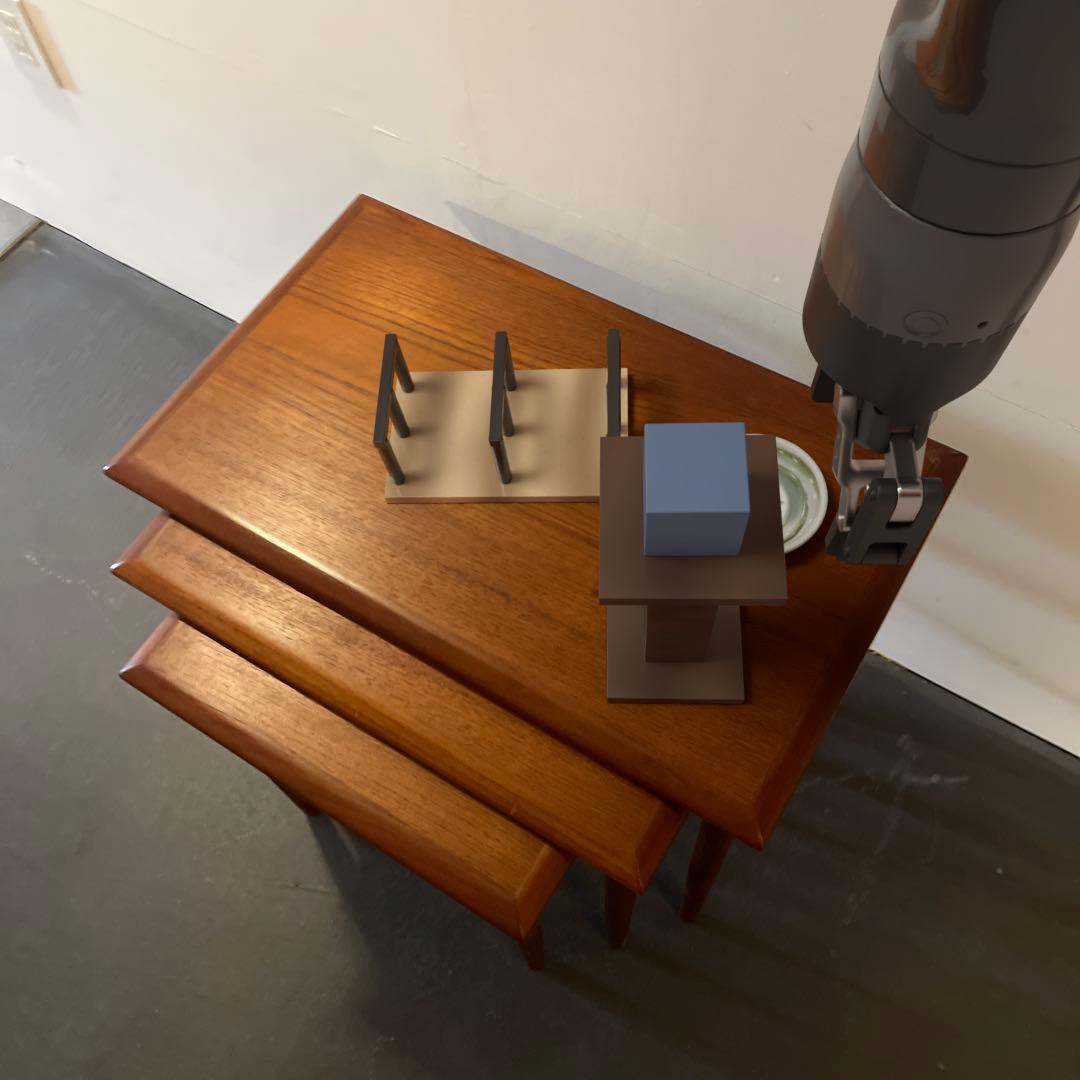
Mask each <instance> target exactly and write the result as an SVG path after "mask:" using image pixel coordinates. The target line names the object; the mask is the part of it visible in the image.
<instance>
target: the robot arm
mask: <svg viewBox="0 0 1080 1080" xmlns="http://www.w3.org/2000/svg"><path fill="white" fill-rule="evenodd" d="M889 19H890V20H889V22H888V26H887V29H886V32H885V35H884V38H883V41H882V44H881V49H880V51H879V52H880V53H879V56H878V59H877V63H876V67H875V70H874V73H873V77H872V81H871V84H870V88H869V91H868V94H867V97H866V98H867V99H866V102H865V105H864V109H863V113H862V117H861V120H860V124H859V126H858V130H857V132H856V135H855V137H854V139H853V142H852V144H851V146H850V147H849V149H848V152H847V153H846V156H845V159H844V161H843V163H842V165H841V168H840V171H839V173H838V176H837V179H836V182H835V186H834V189H833V193H832V196H831V200H830V203H829V208H828V210H827V211H828V212H827V215H826V219H825V223H824V227H823V230H822V233H821V238H820V241H819V245H818V248H817V252H816V257H815V259H814V263H813V267H812V272H811V275H810V278H809V282H808V286H807V290H806V293H805V294H806V295H805V298H804V301H803V305H802V315H801V323H802V331H803V336H804V339H805V342H806V345H807V347H808V350H809V352H810V354H811V356H812V357H813V359H814V360H815V362H816V363H817V365H816V370H815V373H814V375H813V379H812V382H811V385H810V394H811V400H812V402H814V403H819V404H823V403H826V404H827V403H828V404H830V403H832V411H833V413H834V415H835V417H836V425H835V426H836V427H835V436H834V445H833V454H832V463H831V470H832V473H833V474H834V476H835V479H836V482H837V484H838V486H840V487H841V488H840V494H839V495H840V496H839V504H838V510H837V512H836V514H835V516H834V518H833V521H832V523H831V525H830V526H829V529H828V532H827V534H826V536H825V538H824V544H825V554H827V555H828V556H831V557H835V561H836V562H846V564H847V566H852V565H853V566H854V565H856V566H872V565H873V566H887V565H888V566H893V565H894V566H908V565H909V564H910V562H911V559H912V558H913V557H914V555H915V553H916V551H917V550H918V548H919V547H920V545H921V543H922V542H923V540H924V538H925V537H926V535H927V533H928V531H929V530H930V528H931V526H932V524H933V523H934V521H935V519H937V518H936V517H937V516H938V514H939V513H940V511H941V509H942V507H943V504H944V500H945V499H946V489H945V486H944V485H945V484H944V481H943V479H942V478H941V477H922V473H923V467H924V461H925V454H926V449H927V442H928V436H929V431H930V427H931V425H933V424H934V422H935V421H936V420H937V418H938V413H939V410H940V409H941V408H944V407H945V406H947V405H948V404H950V403H952V402H954V401H956V400H957V399H959V398H961V397H963V396H964V395H966V394H968V393H969V392H971V391H972V390H973V389H975V388H976V387H978V386H979V385H980V384H982V383H983V382H984V381H985V379H987V378H988V377H989V375H990V374H991V373H992V372H993V371H994V369H995V367H996V366H997V365H998V363H999V361H1000V360H1001V358H1002V356H1003V355H1004V353H1005V351H1006V350H1007V348H1008V346H1009V345H1010V343H1011V342H1012V340H1013V338H1014V337H1015V335H1016V334H1017V332H1018V330H1019V329H1020V327H1021V326H1022V324H1023V322H1024V320H1025V319H1026V317H1027V316H1028V314H1029V313H1030V310H1031V309H1032V308H1033V306H1034V304H1035V302H1036V301H1037V299H1038V297H1039V296H1040V295H1041V293H1042V291H1043V290H1044V287H1045V286H1046V284H1047V283H1048V281H1049V279H1050V277H1051V276H1052V275H1053V273H1054V271H1055V269H1056V268H1057V266H1058V265H1059V263H1060V261H1061V259H1062V258H1063V256H1064V254H1065V253H1066V251H1067V249H1068V248H1069V246H1070V244H1071V241H1072V240H1073V238H1074V235H1075V234H1076V231H1077V229H1078V226H1079V224H1080V0H896V2H895V5H894V8H893V11H892V13H891V16H890V18H889ZM854 444H856V445H857V446H860V447H862V448H864V449H866V450H868V451H870V452H873V454H877V455H884V459H853V453H854ZM861 490H863V492H864V497H863V499H862V501H861V504H858V501H859V493H860V491H861Z"/></svg>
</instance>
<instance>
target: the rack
mask: <svg viewBox="0 0 1080 1080" xmlns="http://www.w3.org/2000/svg"><path fill="white" fill-rule="evenodd" d="M493 348H494V350H493V365H492V369H491V370H448V371H447V370H445V371H444V370H443V371H441V370H439V371H438V370H437V371H410V370H409V366H408V364H407V362H406V358H405V355H404V354H403V351H402V348H401V345H400V343H399V339H398V336H397V334H396V333H385V334H384V342H383V351H382V359H381V368H380V377H379V386H378V393H377V402H376V410H375V411H376V412H375V419H374V429H373V437H372V444H373V446H374V448H375V449H376V451H377V453H378V455H379V456H380V459H381V461H382V463H383V465H384V467H385V469H386V474H385V475H386V477H385V483H384V484H385V485H384V495H383V498H384V500H385V502H386V504H452V503H453V504H458V503H459V504H460V503H461V504H465V503H466V504H467V503H471V504H473V503H475V504H476V503H478V504H479V503H482V504H483V503H589V502H590V503H594V502H595V503H600V437H623V436H629V372H628V371H629V369H628V367H622V341H621V335H620V328H608V329H607V335H606V365H607V367H605V368H604V367H603V368H602V367H599V368H551V369H550V368H549V369H547V368H546V369H544V368H543V369H515V368H514V362H513V357H512V352H511V348H510V342H509V338H508V332H507V331H506V330H499V331H497V330H496V331H495V332H494V347H493ZM395 375H396V381H395ZM394 381H395V382H396V383H395V390H394ZM390 421H391V430H390V431H391V432H390V439H389V438H388V437H389V435H388V434H389V427H390Z"/></svg>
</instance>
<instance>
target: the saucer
mask: <svg viewBox="0 0 1080 1080" xmlns="http://www.w3.org/2000/svg"><path fill="white" fill-rule="evenodd" d="M746 435H765V434H764V433H746ZM776 446H777V459H778V472H779V486H780V499H781V512H782V525H783V539H784V552H785V554H788V553H790V552H792V551H794V550H797V549H799V548H800V547H802V546H803V545H804V544H806V543H807V542H808V541H810V539H812V538H813V536H814V535H815V534H816V533H817V532H818V530H819V528H820V527H821V525H822V524H823V521H824V519H825V517H826V514H827V510H828V503H829V493H828V487H827V483H826V480H825V477H824V474H823V473H822V471H821V469H820V467H819V466H818V464H817V462H816V461H815V460H814V459H813V458H812V457H811V456H810V455H809V454H808V453H807V452H806V451H805V450H804V449H802V448H801V447H799V446H798V445H797V444H795V443H793V442H792V441H791V442H790V441H789V440H787V439H784V438H782V437H778V436H776Z"/></svg>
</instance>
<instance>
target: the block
mask: <svg viewBox="0 0 1080 1080" xmlns="http://www.w3.org/2000/svg"><path fill="white" fill-rule="evenodd" d="M643 430H644V431H643V432H644V433H643V436H644V458H643V516H644V555H645V556H738V555H739V552H740V549H741V545H742V541H743V537H744V534H745V530H746V526H747V522H748V519H749V515H750V495H749V479H748V462H747V446H746V434H747V433H746V432H747V431H746V430H747V429H746V423H745V421H744V422H743V421H741V422H740V421H739V422H678V423H677V422H674V423H673V422H671V423H669V422H667V423H645V424H644V429H643Z"/></svg>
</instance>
